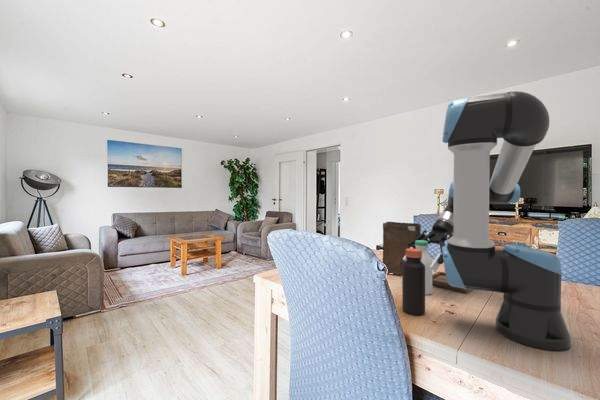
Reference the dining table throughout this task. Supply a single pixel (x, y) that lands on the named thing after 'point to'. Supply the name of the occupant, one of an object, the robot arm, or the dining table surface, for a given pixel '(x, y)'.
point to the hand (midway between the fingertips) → (417, 265)
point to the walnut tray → (446, 283)
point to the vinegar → (413, 283)
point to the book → (397, 243)
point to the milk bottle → (425, 264)
